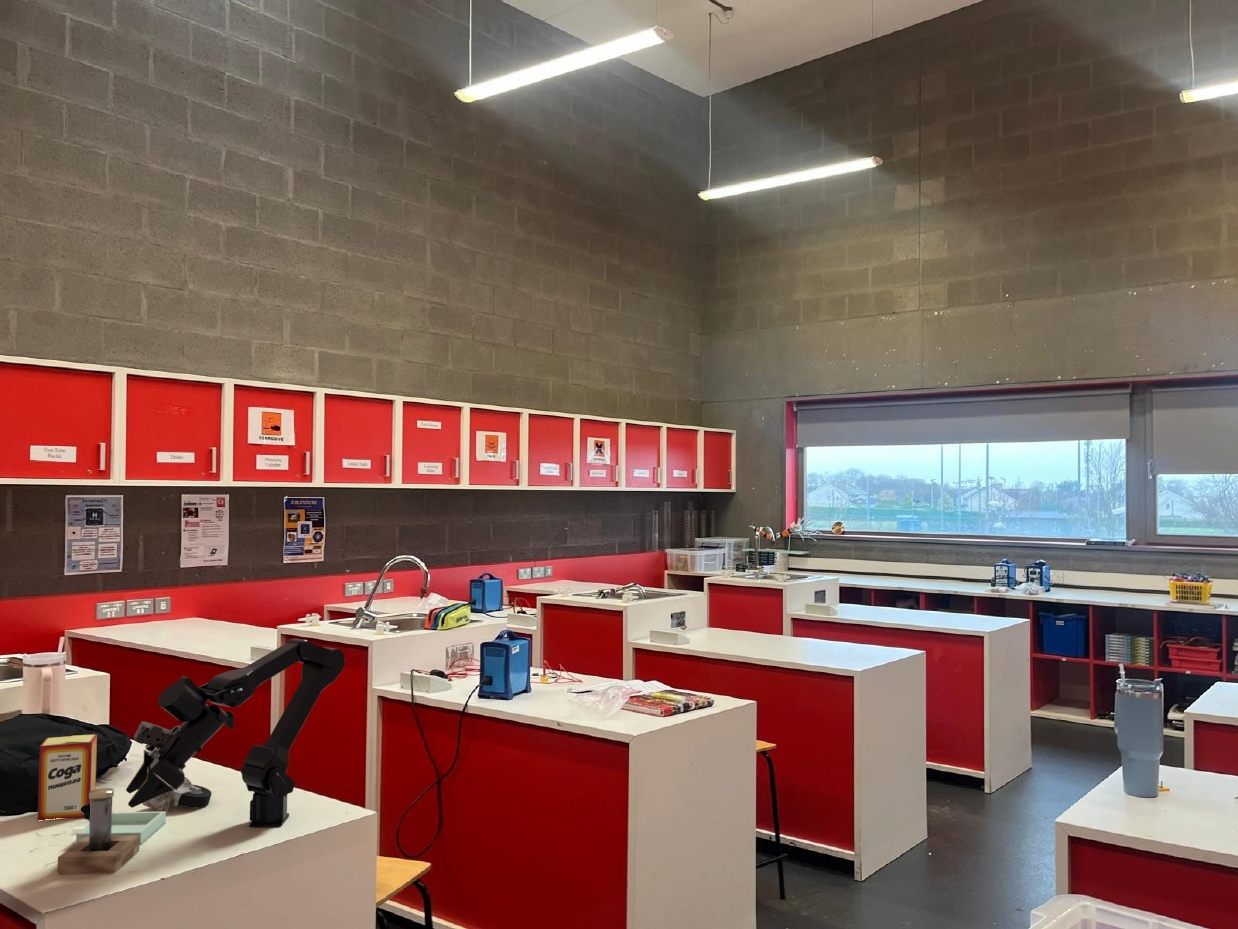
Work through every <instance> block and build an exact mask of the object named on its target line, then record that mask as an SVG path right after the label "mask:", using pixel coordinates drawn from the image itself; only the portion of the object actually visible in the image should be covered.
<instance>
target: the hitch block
mask: <svg viewBox="0 0 1238 929" xmlns="http://www.w3.org/2000/svg"><path fill="white" fill-rule="evenodd" d="M139 843H140V836H111V849H110V850H108V851H89V837H84V838H83V839H81V840H80V841H79V842H77V843H75V844H74V845H72V846H71V847H69V848H68V849H67V850H65V851H64V852H63V853H61V854H60V855H59V856H57V873H56V874H57V875H77V873H79V874H80V875H81V874H87V875H88V874H116V873H117V872H118V871H119V870H121V869H122V868H123V867H124V866H125V865H126V864H127V863H128V862H129V861H130V860H131V859H133V858H134V857H135V856H136V855H137V854H138V853H139V852H140V846H139ZM137 852H138V853H137ZM135 854H136V855H135ZM134 855H135V856H134ZM133 856H134V857H133ZM79 874H78V875H79Z"/></svg>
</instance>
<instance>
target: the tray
mask: <svg viewBox="0 0 1238 929" xmlns="http://www.w3.org/2000/svg"><path fill="white" fill-rule="evenodd" d="M166 820H167V814H166V811H162V812H159V811H117V812H116V811H112V830H111V836H140V843H139V845H141V846H142V845H143V844H144V843H145V842H147V839H148V838H149V839H150V838H151V837H152V836H153V835H154V834H156V833H157V832H158V831H159V830H160V829H161V828H162V827H164V826H165V825H166V823H167V822H166ZM89 826H90V823H89V824H88V825H87V826H85V827H84V828H83V829H81V830H79V831H78V832H77V833H76V835H75V836H76V837H75V839H76V840H75V842H76V843H77V842H79V841H80V840H81V839H83V838H84V837H89ZM155 832H156V833H155ZM149 839H148V840H149ZM76 843H75V844H76Z"/></svg>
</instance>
